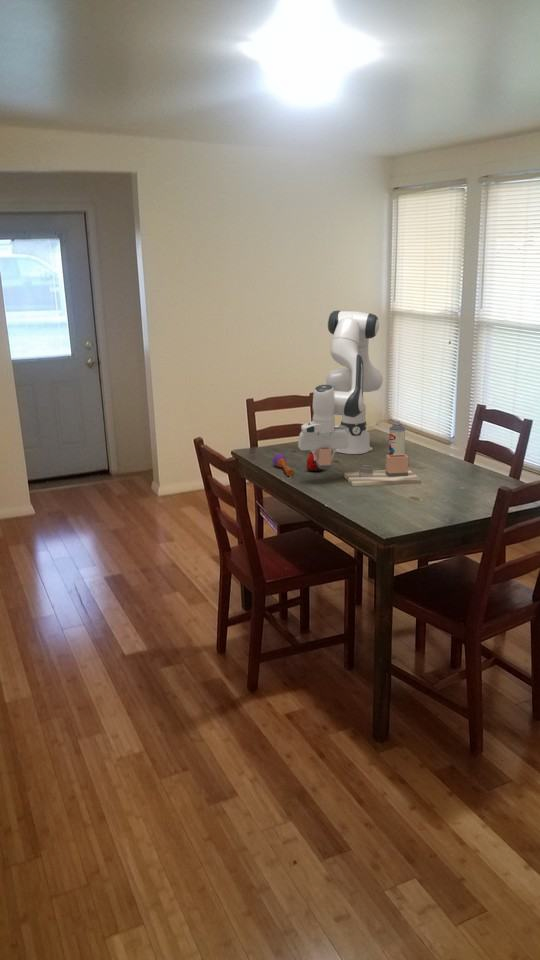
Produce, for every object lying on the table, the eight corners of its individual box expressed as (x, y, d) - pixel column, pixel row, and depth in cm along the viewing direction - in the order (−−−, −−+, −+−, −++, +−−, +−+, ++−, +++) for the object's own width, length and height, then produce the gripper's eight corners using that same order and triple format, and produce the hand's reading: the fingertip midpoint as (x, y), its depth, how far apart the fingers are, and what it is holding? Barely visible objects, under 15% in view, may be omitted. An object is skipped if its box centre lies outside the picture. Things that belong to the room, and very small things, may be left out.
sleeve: (316, 463, 303) (316, 445, 301) (327, 463, 304) (327, 444, 302) (319, 469, 296) (319, 449, 293) (331, 468, 296) (331, 449, 294)
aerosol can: (385, 464, 325) (386, 420, 320) (399, 463, 327) (401, 419, 321) (392, 468, 319) (394, 423, 313) (406, 467, 321) (408, 421, 315)
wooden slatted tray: (343, 475, 309) (343, 461, 308) (408, 472, 313) (408, 458, 311) (352, 486, 294) (352, 471, 292) (420, 482, 297) (421, 468, 296)
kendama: (282, 468, 307) (270, 453, 325) (284, 481, 309) (272, 466, 328) (296, 465, 308) (283, 450, 326) (298, 478, 310) (285, 462, 329)
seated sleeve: (388, 476, 301) (389, 457, 299) (385, 473, 305) (386, 455, 303) (407, 475, 302) (408, 457, 300) (404, 472, 306) (405, 454, 304)
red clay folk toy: (319, 467, 322) (319, 434, 318) (327, 471, 316) (327, 437, 312) (303, 469, 319) (303, 436, 315) (311, 473, 313) (311, 439, 309)
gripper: (347, 423, 299) (346, 456, 303) (297, 425, 297) (297, 458, 301) (350, 426, 293) (350, 460, 297) (300, 429, 291) (300, 462, 295)
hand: (323, 459), depth 299 cm, fingers closed on sleeve, 5 cm apart
